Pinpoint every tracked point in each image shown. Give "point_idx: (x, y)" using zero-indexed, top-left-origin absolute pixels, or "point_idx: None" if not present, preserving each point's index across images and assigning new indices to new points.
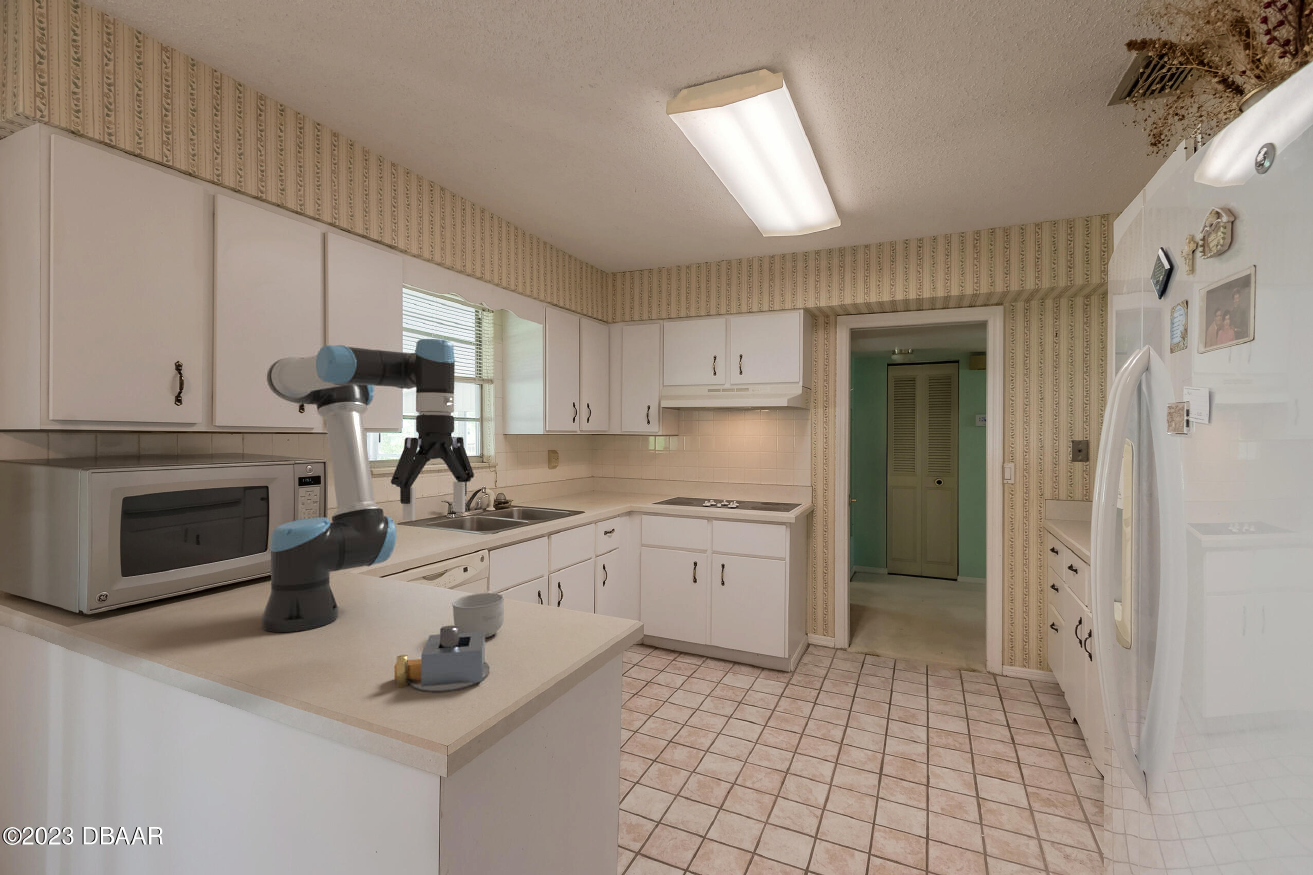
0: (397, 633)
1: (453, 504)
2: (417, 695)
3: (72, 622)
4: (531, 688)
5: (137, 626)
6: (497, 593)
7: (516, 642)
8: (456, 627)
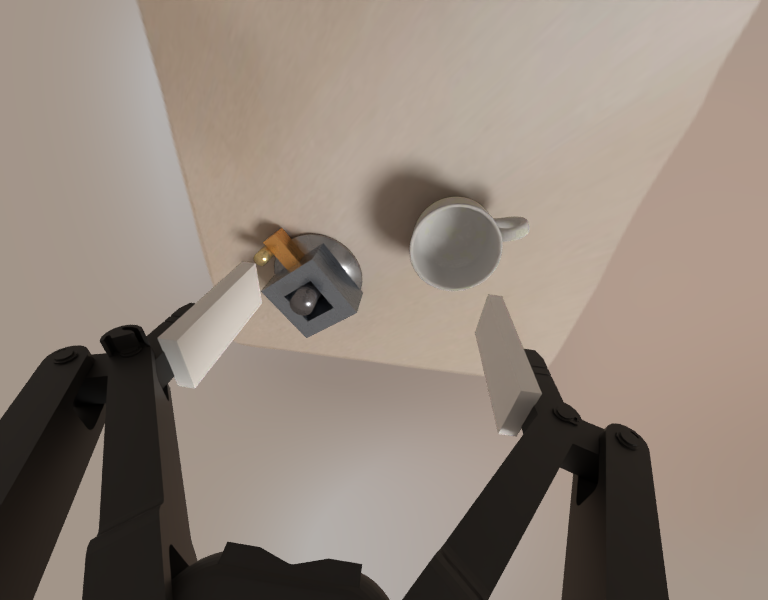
0: (415, 76)
1: (493, 311)
2: (268, 275)
3: None
4: (332, 353)
5: None
6: (497, 264)
7: (435, 291)
8: (307, 311)
